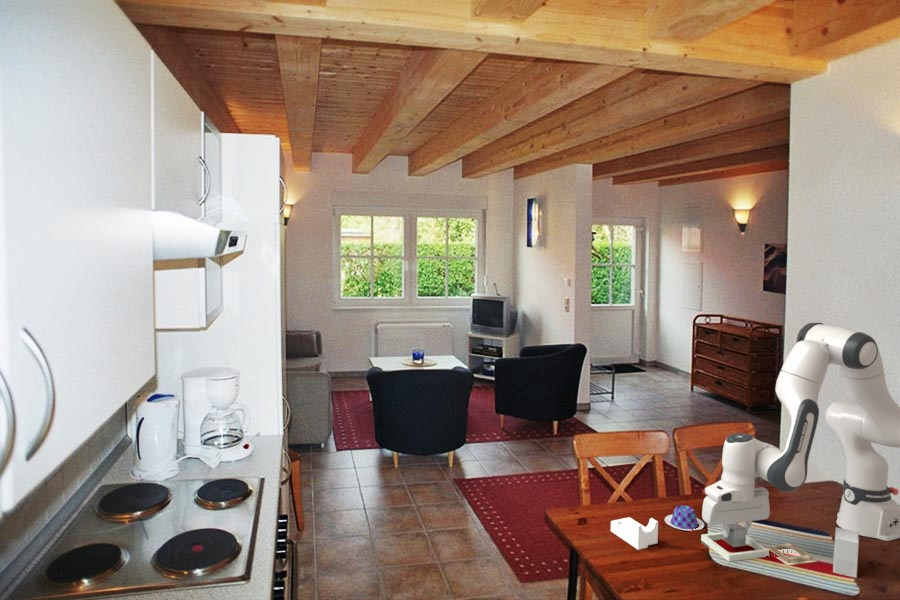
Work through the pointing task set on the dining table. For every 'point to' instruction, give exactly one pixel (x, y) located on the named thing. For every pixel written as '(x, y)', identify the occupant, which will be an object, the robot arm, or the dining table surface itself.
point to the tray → (757, 553)
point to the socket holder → (789, 559)
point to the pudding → (684, 518)
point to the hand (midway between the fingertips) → (735, 535)
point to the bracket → (636, 532)
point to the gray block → (736, 535)
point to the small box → (846, 552)
